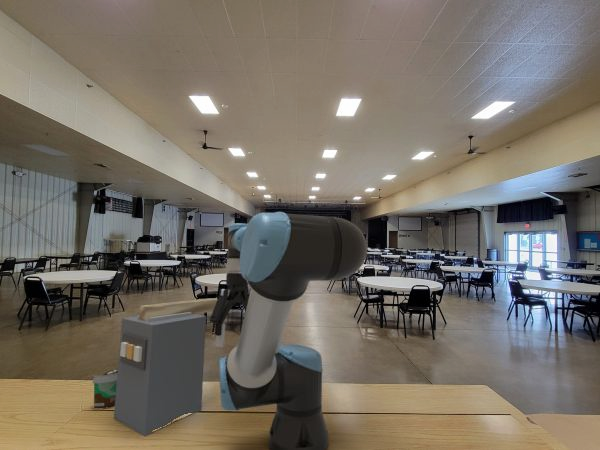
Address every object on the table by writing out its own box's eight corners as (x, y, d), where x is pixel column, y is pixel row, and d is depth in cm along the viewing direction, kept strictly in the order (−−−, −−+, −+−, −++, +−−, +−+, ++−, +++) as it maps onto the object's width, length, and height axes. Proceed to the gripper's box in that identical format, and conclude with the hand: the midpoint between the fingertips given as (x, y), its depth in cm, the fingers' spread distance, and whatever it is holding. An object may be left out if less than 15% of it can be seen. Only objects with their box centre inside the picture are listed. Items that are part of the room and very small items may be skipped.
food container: (107, 413, 93) (110, 377, 94) (89, 410, 94) (92, 376, 95) (136, 396, 105) (138, 364, 106) (120, 394, 106) (123, 363, 107)
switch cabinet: (201, 409, 96) (206, 313, 99) (139, 438, 80) (148, 322, 83) (169, 396, 105) (175, 308, 108) (108, 420, 89) (117, 315, 92)
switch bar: (217, 310, 111) (218, 299, 111) (147, 321, 89) (148, 307, 90) (209, 309, 113) (210, 298, 114) (139, 319, 92) (140, 305, 92)
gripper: (254, 271, 112) (252, 332, 110) (199, 272, 91) (195, 348, 88) (271, 271, 108) (269, 335, 106) (218, 273, 87) (214, 353, 84)
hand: (235, 341), depth 97 cm, fingers open, 13 cm apart
